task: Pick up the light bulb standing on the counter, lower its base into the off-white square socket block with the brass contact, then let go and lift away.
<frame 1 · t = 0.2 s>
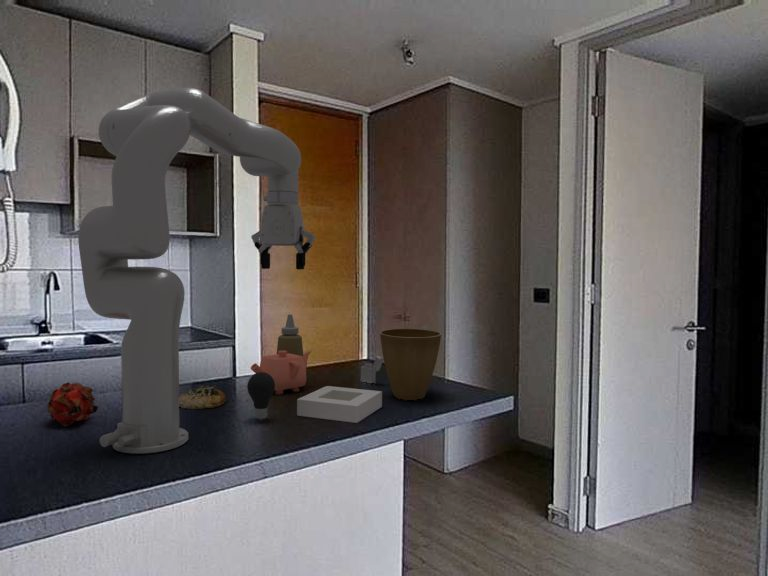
hand: (282, 269, 141), 31 cm above the counter, tool pointing down, fingers open, 9 cm apart
bread roll: (201, 405, 129), on the counter
socket block: (340, 410, 125), on the counter
lighter: (372, 384, 152), on the counter
plant pot: (409, 398, 138), on the counter
teapot: (282, 391, 144), on the counter
squeeze bottle: (289, 380, 157), on the counter
dragon fruit: (72, 423, 114), on the counter
light bulb: (261, 421, 117), on the counter
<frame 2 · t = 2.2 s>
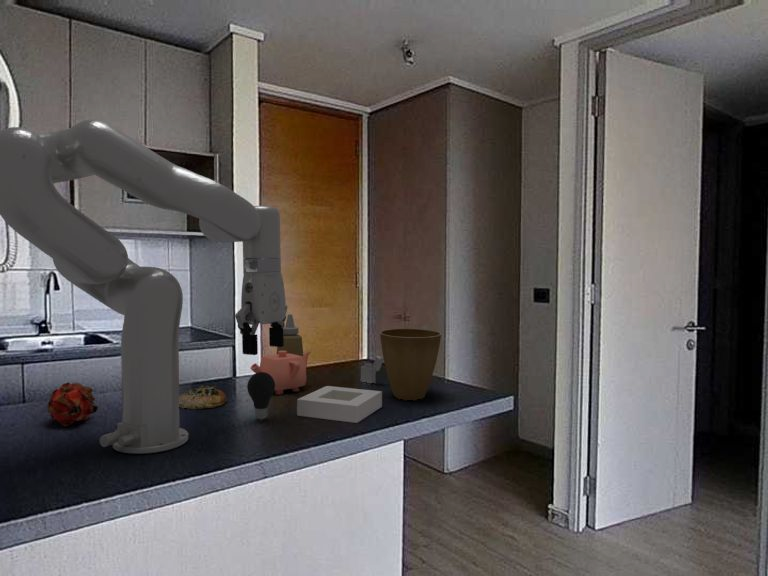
hand: (263, 350, 116), 15 cm above the counter, tool pointing down, fingers open, 9 cm apart
nothing on the counter moved.
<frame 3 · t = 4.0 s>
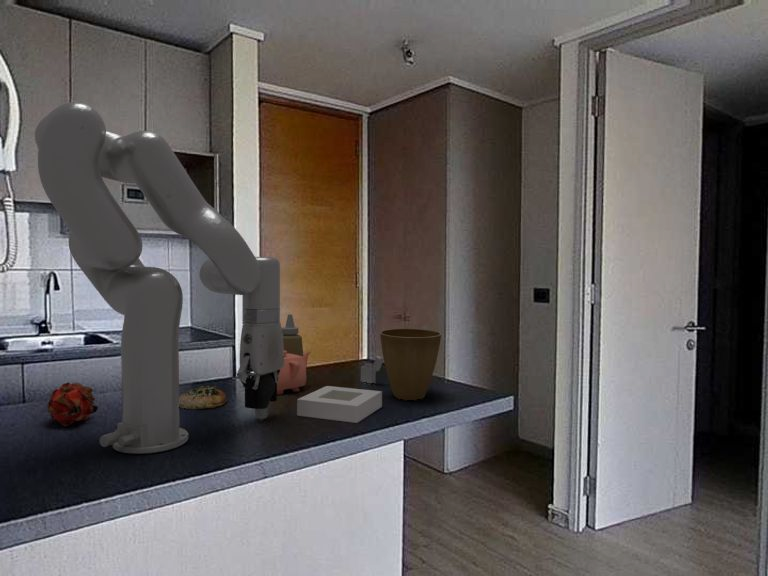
hand: (261, 403, 116), 4 cm above the counter, tool pointing down, fingers closed on light bulb, 5 cm apart
light bulb: (261, 421, 117), on the counter, touching gripper
everything else where it was.
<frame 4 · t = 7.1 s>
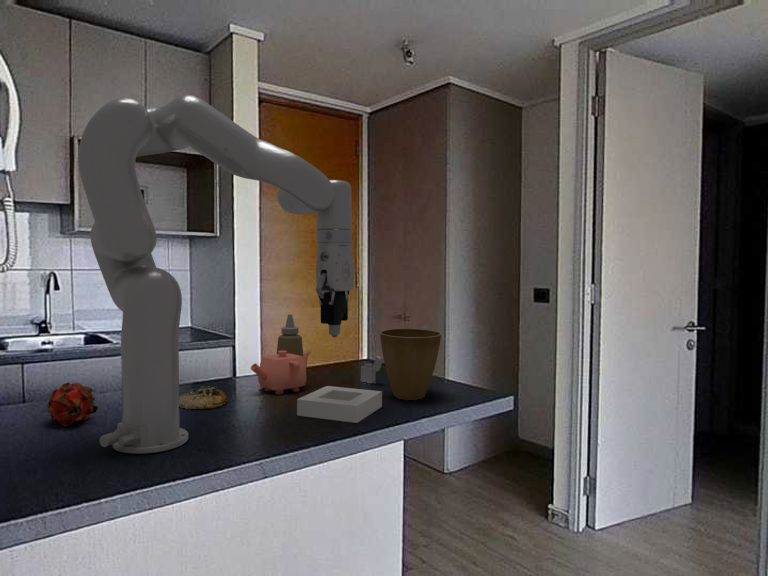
hand: (334, 321, 123), 20 cm above the counter, tool pointing down, fingers closed on light bulb, 5 cm apart
light bulb: (334, 337, 123), point 16 cm above the counter, touching gripper
everything else where it was.
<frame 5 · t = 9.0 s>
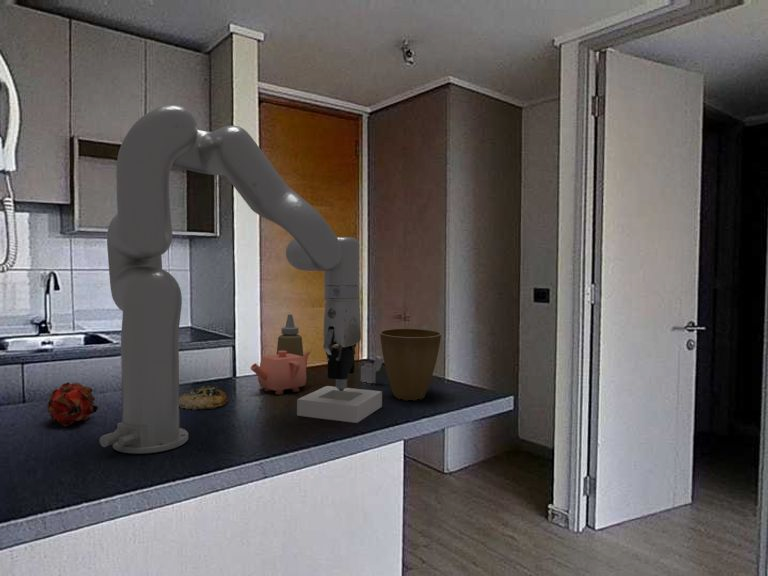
hand: (341, 374, 124), 8 cm above the counter, tool pointing down, fingers closed on light bulb, 5 cm apart
light bulb: (341, 391, 124), point 4 cm above the counter, touching gripper
everything else where it was.
when the fingers open (5 cm above the counter, at t = 10.4 s): light bulb stays where it is, resting on socket block.
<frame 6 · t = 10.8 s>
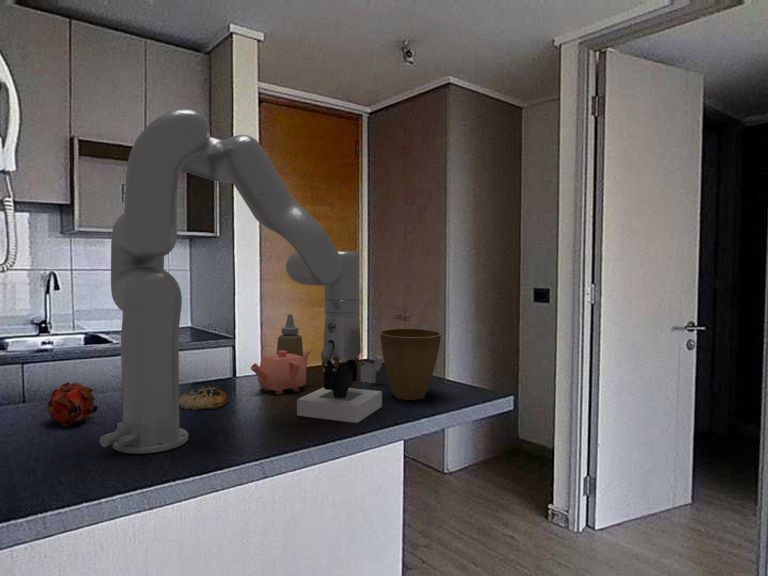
hand: (341, 385, 124), 6 cm above the counter, tool pointing down, fingers open, 9 cm apart
light bulb: (340, 409, 124), resting on socket block
everything else where it was.
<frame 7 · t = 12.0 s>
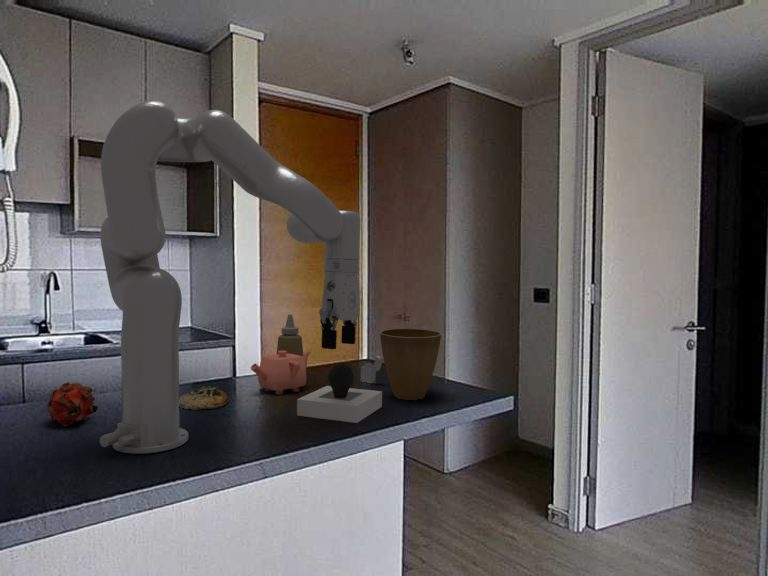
hand: (338, 346, 123), 14 cm above the counter, tool pointing down, fingers open, 9 cm apart
nothing on the counter moved.
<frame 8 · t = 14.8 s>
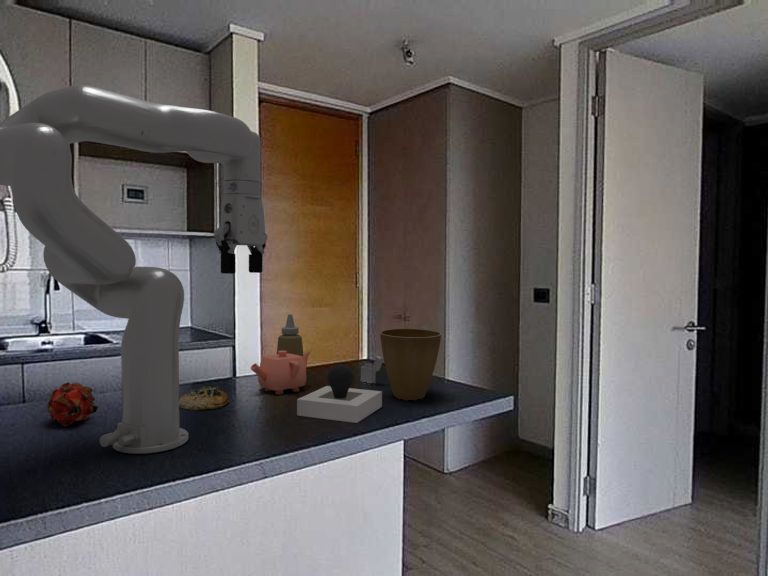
hand: (242, 272, 119), 30 cm above the counter, tool pointing down, fingers open, 9 cm apart
at the end: light bulb 0.1 cm off-centre on the socket block, point 0.2 cm above the socket block's base; light bulb tilted 0°; the gripper is holding nothing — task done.
